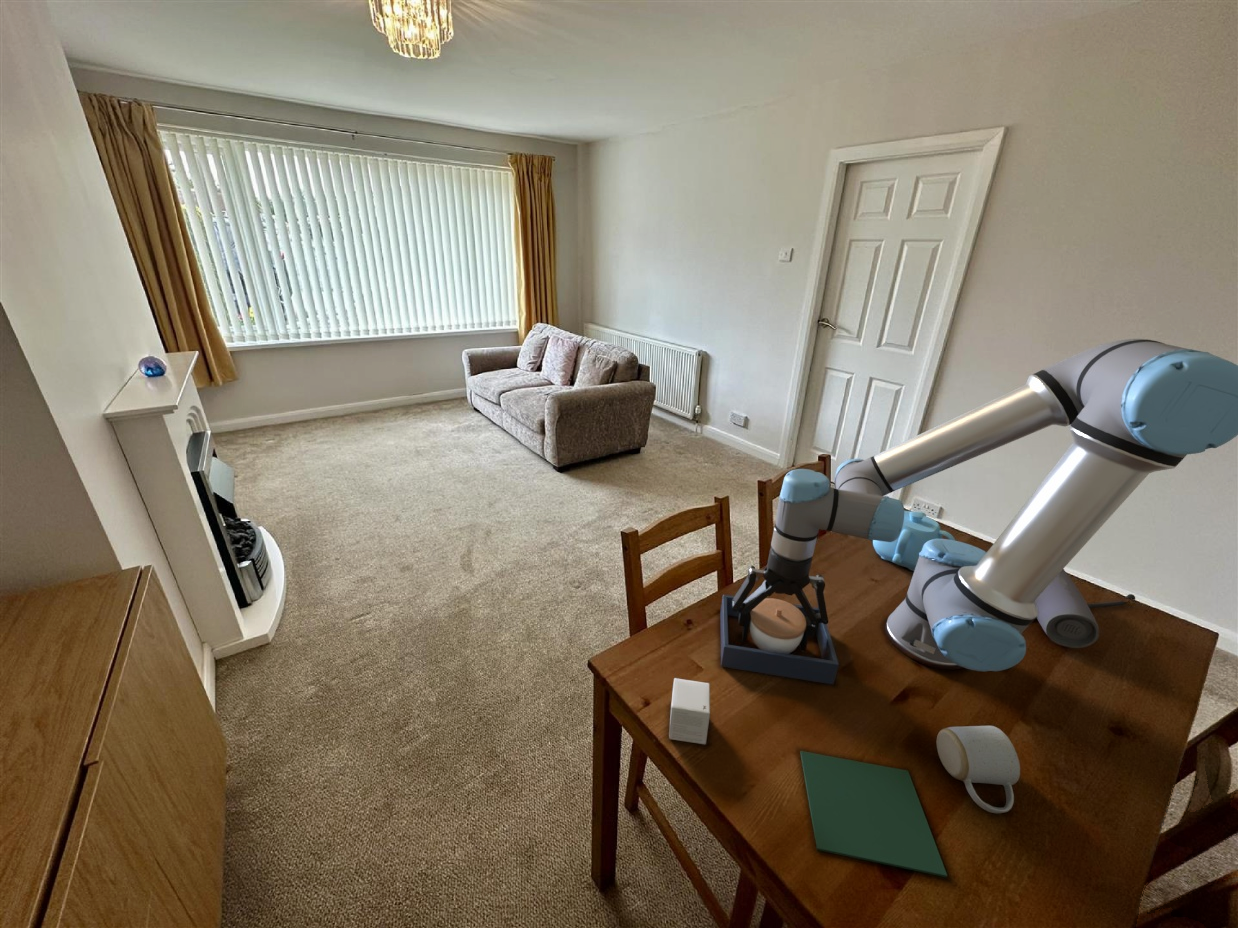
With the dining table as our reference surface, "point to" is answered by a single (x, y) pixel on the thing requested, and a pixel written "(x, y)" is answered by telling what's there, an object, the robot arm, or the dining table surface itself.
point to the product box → (690, 711)
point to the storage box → (779, 654)
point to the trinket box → (777, 626)
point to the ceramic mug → (980, 760)
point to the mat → (869, 813)
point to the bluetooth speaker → (1066, 614)
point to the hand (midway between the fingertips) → (772, 641)
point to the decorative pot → (910, 540)
